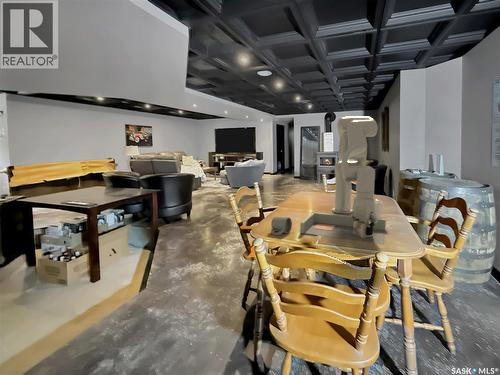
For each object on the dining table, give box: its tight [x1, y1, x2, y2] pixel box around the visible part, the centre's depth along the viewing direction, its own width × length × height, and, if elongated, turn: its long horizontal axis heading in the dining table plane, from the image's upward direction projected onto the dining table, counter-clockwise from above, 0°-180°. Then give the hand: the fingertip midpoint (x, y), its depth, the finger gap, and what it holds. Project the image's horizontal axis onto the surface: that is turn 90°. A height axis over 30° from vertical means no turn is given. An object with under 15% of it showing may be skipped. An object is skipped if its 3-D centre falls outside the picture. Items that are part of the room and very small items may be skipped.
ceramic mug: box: [270, 216, 293, 236], centre depth 134 cm, size 11×8×8 cm
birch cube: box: [353, 220, 373, 237], centre depth 128 cm, size 6×6×6 cm
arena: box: [299, 211, 387, 245], centre depth 134 cm, size 22×36×6 cm, turn 63°
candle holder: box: [374, 199, 384, 219], centre depth 146 cm, size 10×10×12 cm
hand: (362, 232), depth 128 cm, fingers open, 7 cm apart
